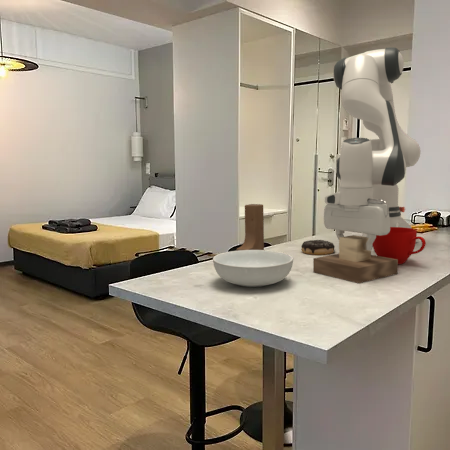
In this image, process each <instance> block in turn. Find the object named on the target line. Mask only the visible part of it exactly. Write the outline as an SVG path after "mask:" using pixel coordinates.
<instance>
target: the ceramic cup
mask: <svg viewBox="0 0 450 450" xmlns="http://www.w3.org/2000/svg"><path fill="white" fill-rule="evenodd" d="M411 228H412V227H411ZM411 228H403V227H390V232H389V233H388V234H387V235H381V236H380V235H376V239H375V240H374V242H373V244H372V245H373V246H372V250H373V251H374V253H375V256H381V257H387V258H392V259H398V265H402V264H405V263H406V262H407V261H408V260H409V259H410V257H411V256H412V255H415V254H418V253H420V252H422V251H423V250H424V249H425V247H426V245H427V244H426V238H424V237H422V236H417V235H418V234H417V233H418V231H417V229H415V228H412V229H411ZM416 239H419V241H421V247H420V248H419V249H417V250H415V249H416V248H415V246H416V244H417V242H416Z"/></svg>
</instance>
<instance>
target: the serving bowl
mask: <svg viewBox="0 0 450 450" xmlns="http://www.w3.org/2000/svg"><path fill="white" fill-rule="evenodd" d="M212 262H213V267H214V270H215V273H217V275H218V276H219V277H220V278H221V279H223V280H224V281H225V282H227V283H230V284H233V285H237V286H241V287H246V288H247V287H248V288H259V287H266V286H269V285H273V284H276V283H279V282H281V281H282V280H284V279H286V277H287V276H288V275H289V274H290V272H291V270H292V269H293V264H294V263H293V262H294V257H293V256H292V255H290V254H289V253H285V252H282V251H275V250H268V249H264V250H240V251H237V250H231V251H227V252H223V253H222V252H221V253H218V254H216V255H214V256H213V257H212Z"/></svg>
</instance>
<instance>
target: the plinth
mask: <svg viewBox="0 0 450 450" xmlns="http://www.w3.org/2000/svg"><path fill="white" fill-rule="evenodd" d="M312 259H313V260H312V261H313V262H312V263H313V264H312V266H313V272H312V273H314V274H319V275H324V276H328V277H331V278H335V279H339V280H344V281H347V282H352V283H355V284H362V283H367V282H370V281H375V280H379V279H383V278H387V277H390V276H393V275H398V271H399V267H398V266H399V264H398V259H392V258H387V257H381V256H377V255H376V254H375V255H374V254H371V259H369V260H364V261H359V262H353V261H348V260H343V259H339V253H335V254H328V255H322V256H319V257H313V258H312Z"/></svg>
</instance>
